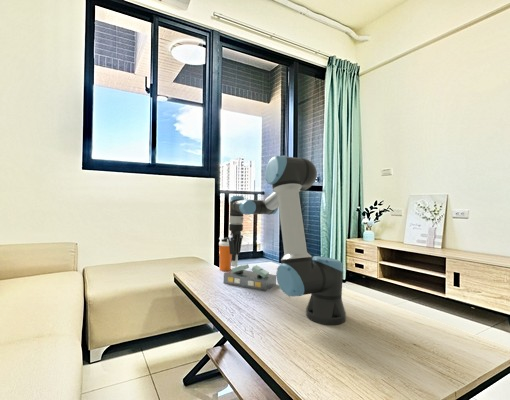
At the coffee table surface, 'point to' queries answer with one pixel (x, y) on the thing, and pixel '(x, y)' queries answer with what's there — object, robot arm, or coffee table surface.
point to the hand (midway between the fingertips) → (234, 266)
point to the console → (250, 280)
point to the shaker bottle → (224, 255)
